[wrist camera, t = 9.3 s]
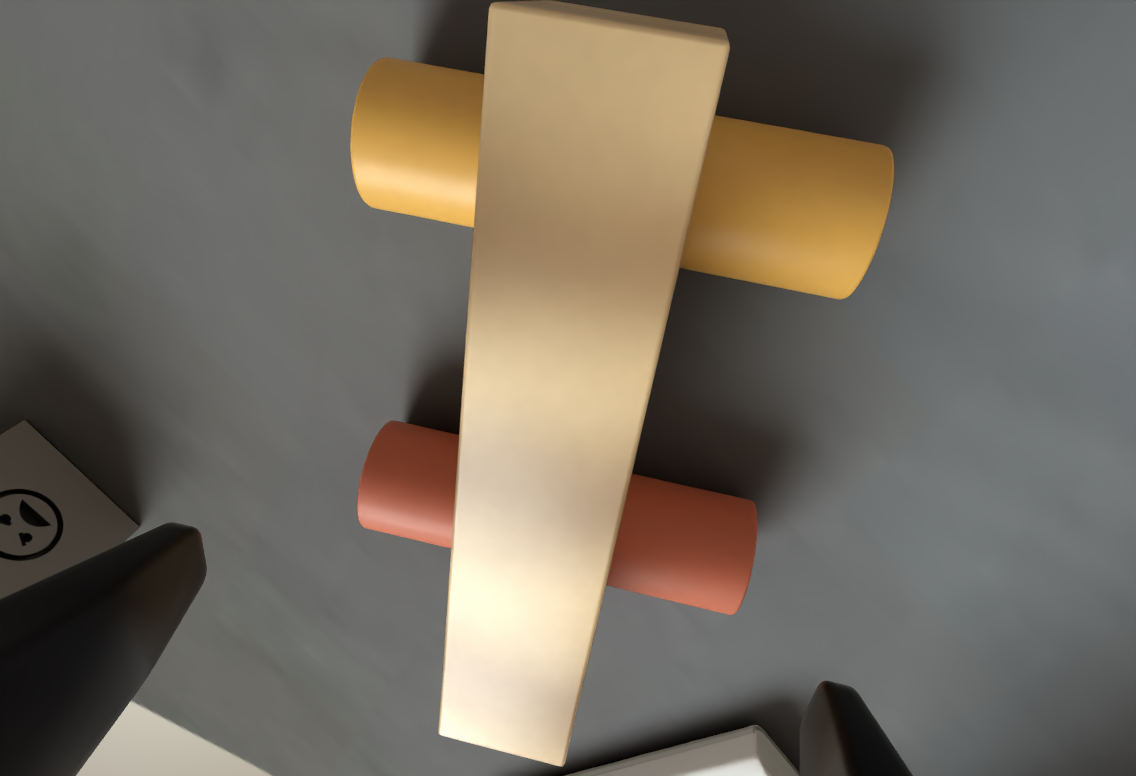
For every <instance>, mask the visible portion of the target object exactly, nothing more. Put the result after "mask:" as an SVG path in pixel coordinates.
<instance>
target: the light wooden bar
mask: <svg viewBox="0 0 1136 776" xmlns="http://www.w3.org/2000/svg"><path fill="white" fill-rule="evenodd" d="M729 51H730V44H729V40H728V37H727V34H726V31H725V30H724V29H722V28H718V27H712V26H705V25H699V24H693V23H687V22H681V21H675V20H669V19H663V18H657V17H650V16H644V15H638V14H632V13H626V12H620V11H614V10H608V9H602V8H595V7H589V6H583V5H577V4H571V3H565V2H559V1H553V0H539V1H505V2H494V3H491V5H490V7H489V15H488V29H487V43H486V58H485V72H484V86H483V101H482V115H481V130H480V144H479V158H478V173H477V187H476V201H475V216H474V230H473V244H472V259H471V273H470V287H469V302H468V316H467V331H466V345H465V359H464V374H463V388H462V402H461V417H460V431H459V445H458V460H457V474H456V488H455V503H454V517H453V532H452V546H451V560H450V575H449V589H448V603H447V618H446V632H445V646H444V661H443V675H442V689H441V704H440V718H439V734H440V735H442V736H446V737H449V738H453V739H457V740H461V741H465V742H468V743H472V744H476V745H480V746H484V747H488V748H491V749H495V750H499V751H503V752H507V753H511V754H514V755H518V756H522V757H526V758H530V759H533V760H537V761H541V762H545V763H549V764H553V765H556V766H563V765H564V764H565V761H566V756H567V752H568V748H569V743H570V739H571V735H572V731H573V726H574V722H575V718H576V713H577V709H578V705H579V700H580V696H581V692H582V687H583V683H584V679H585V674H586V670H587V666H588V661H589V657H590V653H591V648H592V644H593V640H594V635H595V631H596V627H597V622H598V618H599V614H600V609H601V605H602V601H603V596H604V592H605V588H606V583H607V579H608V575H609V570H610V566H611V562H612V557H613V553H614V549H615V544H616V540H617V536H618V531H619V527H620V523H621V518H622V514H623V510H624V506H625V501H626V497H627V493H628V488H629V484H630V480H631V475H632V471H633V467H634V462H635V458H636V454H637V449H638V445H639V441H640V436H641V432H642V428H643V423H644V419H645V415H646V410H647V406H648V402H649V397H650V393H651V389H652V384H653V380H654V376H655V371H656V367H657V363H658V358H659V354H660V350H661V345H662V341H663V337H664V332H665V328H666V324H667V319H668V315H669V311H670V306H671V302H672V298H673V293H674V289H675V285H676V281H677V276H678V272H679V268H680V263H681V259H682V255H683V250H684V246H685V242H686V237H687V233H688V229H689V224H690V220H691V216H692V211H693V207H694V203H695V198H696V194H697V190H698V185H699V181H700V177H701V172H702V168H703V164H704V159H705V155H706V151H707V146H708V142H709V138H710V133H711V129H712V125H713V120H714V116H715V112H716V107H717V103H718V99H719V94H720V90H721V86H722V81H723V77H724V73H725V68H726V64H727V60H728V56H729Z"/></svg>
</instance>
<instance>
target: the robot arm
mask: <svg viewBox="0 0 1136 776" xmlns="http://www.w3.org/2000/svg"><path fill="white" fill-rule="evenodd" d="M206 570H207V567H206V560H205V555H204V549H203V543H202V537H201V534H200V532H199V531H198V529H197V528H194V527H191V526H187V525H183V524H179V523H167V524H164V525H162V526H159V527H157V528H155V529H153V530H151V531H148V532H146V533H144V534H142V535H140V536H137V537H135V538H133V539H131V540H129V541H126V542H124V543H122V544H120V545H118V546H115V547H113V548H111V549H109V550H107V551H105V552H102V553H100V554H98V555H96V556H94V557H91V558H89V559H87V560H85V561H83V562H80V563H78V564H76V565H74V566H72V567H69V568H67V569H65V570H63V571H61V572H58V573H56V574H54V575H52V576H50V577H48V578H45V579H43V580H41V581H39V582H37V583H34V584H32V585H30V586H28V587H26V588H23V589H21V590H19V591H17V592H15V593H12V594H10V595H8V596H6V597H4V598H1V599H0V776H76V775H77V773H78V772H79V771H80V769H81V768H82V767H83V765H84V764H85V762H86V761H87V760H88V758H89V757H90V756H91V754H92V753H93V752H94V750H95V749H96V747H97V746H98V745H99V743H100V742H101V741H102V739H103V738H104V736H105V735H106V734H107V732H108V731H109V730H110V728H111V727H112V726H113V724H114V723H115V721H116V720H117V719H118V717H119V716H120V715H121V713H122V712H123V711H124V709H125V708H126V706H127V705H128V704H129V702H130V701H131V700H132V698H133V697H134V695H135V694H136V693H137V691H138V690H139V688H140V687H141V685H142V684H143V683H144V681H145V680H146V678H147V677H148V675H149V674H150V672H151V670H152V669H153V667H154V666H155V664H156V662H157V661H158V659H159V657H160V656H161V654H162V652H163V651H164V649H165V647H166V645H167V644H168V642H169V640H170V639H171V637H172V635H173V634H174V632H175V630H176V629H177V627H178V625H179V623H180V622H181V620H182V618H183V617H184V615H185V613H186V612H187V610H188V608H189V607H190V605H191V603H192V601H193V600H194V598H195V596H196V595H197V593H198V591H199V590H200V588H201V586H202V584H203V582H204V580H205V576H206ZM800 776H913V775H912V774H911V772H910V771H909V769H908V768H907V766H906V765H905V763H904V762H903V760H902V759H901V757H900V756H899V754H898V753H897V751H896V750H895V748H894V747H893V745H892V744H891V742H890V741H889V739H888V738H887V736H886V735H885V733H884V732H883V730H882V729H881V727H880V726H879V724H878V723H877V721H876V720H875V718H874V716H873V715H872V713H871V712H870V710H869V709H868V707H867V706H866V704H865V703H864V701H863V700H862V698H861V697H860V695H859V694H858V693H857V692H856V691H855V690H854V689H853V688H852V687H850V686H846V685H842V684H838V683H834V682H830V681H823V682H822V683H820V684H819V686H818V687H817V689H816V691H815V693H814V695H813V697H812V699H811V701H810V703H809V705H808V707H807V709H806V711H805V713H804V715H803V718H802V721H801V726H800Z"/></svg>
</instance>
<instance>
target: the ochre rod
mask: <svg viewBox="0 0 1136 776" xmlns="http://www.w3.org/2000/svg"><path fill="white" fill-rule="evenodd" d="M483 86H484V74H479V73H474V72H468V71H462V70H457V69H451V68H445V67H440V66H434V65H428V64H423V63H417V62H412V61H406V60H400V59H395V58H389V57H388V58H382V59H379V60H377V61H376V62H374V63H373V65H372V66H371V67H370V68H369V70H368V71H367V73H366V74H365V76H364V78H363V81H362V83H361V86H360V88H359V91H358V94H357V98H356V102H355V106H354V112H353V118H352V126H351V162H352V170H353V176H354V180H355V183H356V186H357V189H358V192H359V194H360V196H361V197H362V199H363V200H364V201H365V202H366V203H367V204H368V205H369V206H371V207H373V208H377V209H383V210H388V211H393V212H398V213H403V214H408V215H413V216H418V217H423V218H428V219H433V220H438V221H444V222H449V223H454V224H459V225H464V226H469V227H474V216H475V201H476V187H477V173H478V158H479V144H480V130H481V115H482V101H483ZM893 181H894V159H893V154H892V151H891V150H890V149H889V148H888V147H887V146H885V145H880V144H875V143H869V142H863V141H858V140H852V139H846V138H841V137H835V136H830V135H824V134H818V133H813V132H807V131H801V130H796V129H790V128H784V127H779V126H773V125H767V124H762V123H756V122H750V121H745V120H739V119H733V118H728V117H722V116H717V115H715V116H714V120H713V125H712V129H711V133H710V138H709V142H708V146H707V151H706V155H705V159H704V164H703V168H702V172H701V177H700V181H699V185H698V190H697V194H696V198H695V203H694V207H693V211H692V216H691V220H690V224H689V229H688V233H687V237H686V242H685V246H684V250H683V255H682V259H681V263H680V268H682V269H688V270H693V271H698V272H703V273H708V274H713V275H718V276H723V277H728V278H733V279H738V280H743V281H749V282H754V283H759V284H764V285H769V286H774V287H779V288H784V289H789V290H794V291H799V292H804V293H810V294H815V295H820V296H825V297H830V298H835V299H844V298H847V297H848V296H849V295H851V294H852V293H853V291H854V290H855V289H856V288H857V286H858V285H859V283H860V282H861V280H862V278H863V277H864V275H865V273H866V271H867V269H868V267H869V265H870V263H871V261H872V259H873V257H874V254H875V252H876V249H877V247H878V244H879V241H880V238H881V235H882V232H883V229H884V226H885V222H886V218H887V215H888V210H889V206H890V201H891V196H892V190H893Z"/></svg>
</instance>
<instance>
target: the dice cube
mask: <svg viewBox="0 0 1136 776" xmlns="http://www.w3.org/2000/svg"><path fill="white" fill-rule="evenodd" d="M139 528H140V527H139V526H138V525H137V524H136V523H135V522H134V521H133V520H132V519H130V518H129V517H128V516H127V515H126V514H125V513H124V512H123V511H122V510H121V509H120V508H119V507H118V506H117V505H115V504H114V503H113V502H112V501H111V500H110V499H109V498H108V497H107V496H106V495H105V494H104V493H103V492H102V491H100V490H99V489H98V488H97V487H96V486H95V485H94V484H93V483H92V482H91V481H90V480H89V479H88V478H87V477H85V476H84V475H83V474H82V473H81V472H80V471H79V470H78V469H77V468H76V467H75V466H74V465H73V464H72V463H70V462H69V461H68V460H67V459H66V458H65V457H64V456H63V455H62V454H61V453H60V452H59V451H58V450H57V449H55V448H54V447H53V446H52V445H51V444H50V443H49V442H48V441H47V440H46V439H45V438H44V437H43V436H42V435H40V434H39V433H38V432H37V431H36V430H35V429H34V428H33V427H32V426H31V425H30V424H29V423H28V422H27V421H25V420H24V421H22V422H20V423H19V424H17V425H15V426H14V427H12V428H11V429H9V430H7V431H6V432H4V433H2V434H1V435H0V599H1V598H4V597H6V596H8V595H10V594H12V593H15V592H17V591H19V590H21V589H23V588H26V587H28V586H30V585H32V584H34V583H37V582H39V581H41V580H43V579H45V578H48V577H50V576H52V575H54V574H56V573H58V572H61V571H63V570H65V569H67V568H69V567H72V566H74V565H76V564H78V563H80V562H83V561H85V560H87V559H89V558H91V557H94V556H96V555H98V554H100V553H102V552H105V551H107V550H109V549H111V548H113V547H115V546H118V545H120V544H122V543H124V542H125V541H126V540H127V539H128V538H129V537H130V536H131V535H132V534H133V533H134V532H135V531H136V530H138V529H139Z"/></svg>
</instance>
